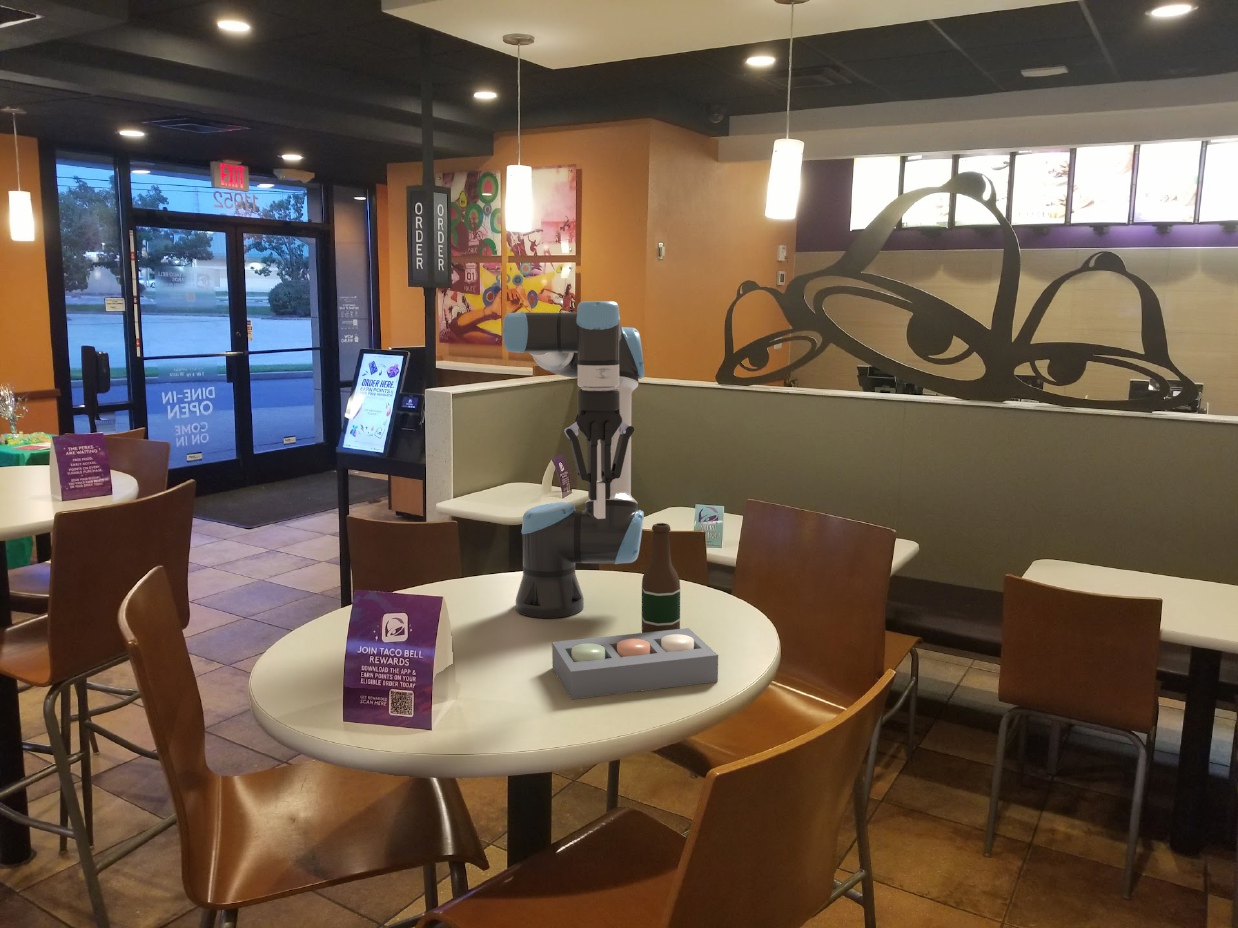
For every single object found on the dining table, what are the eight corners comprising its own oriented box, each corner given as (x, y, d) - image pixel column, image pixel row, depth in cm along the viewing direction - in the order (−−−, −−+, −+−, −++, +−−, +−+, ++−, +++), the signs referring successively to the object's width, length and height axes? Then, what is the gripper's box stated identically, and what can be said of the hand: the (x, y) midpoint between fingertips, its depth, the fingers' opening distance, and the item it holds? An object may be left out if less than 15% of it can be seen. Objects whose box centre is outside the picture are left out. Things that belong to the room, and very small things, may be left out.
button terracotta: (613, 663, 174) (613, 640, 173) (644, 659, 176) (644, 637, 175) (622, 675, 168) (622, 651, 168) (654, 671, 170) (654, 648, 169)
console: (552, 667, 176) (552, 642, 175) (688, 652, 183) (688, 627, 182) (571, 699, 162) (570, 671, 161) (717, 681, 169) (718, 654, 168)
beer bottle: (677, 648, 185) (678, 529, 181) (638, 645, 187) (638, 528, 183) (682, 635, 193) (683, 520, 189) (645, 632, 194) (645, 519, 191)
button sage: (568, 668, 172) (568, 645, 171) (600, 664, 173) (600, 641, 173) (576, 680, 166) (576, 656, 165) (609, 676, 168) (608, 653, 167)
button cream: (656, 658, 176) (656, 636, 176) (687, 655, 178) (687, 632, 177) (667, 670, 171) (667, 646, 170) (698, 666, 172) (698, 643, 172)
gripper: (567, 391, 163) (569, 523, 167) (639, 389, 167) (639, 519, 171) (558, 387, 171) (560, 515, 174) (627, 385, 174) (627, 510, 178)
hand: (599, 516), depth 173 cm, fingers closed
